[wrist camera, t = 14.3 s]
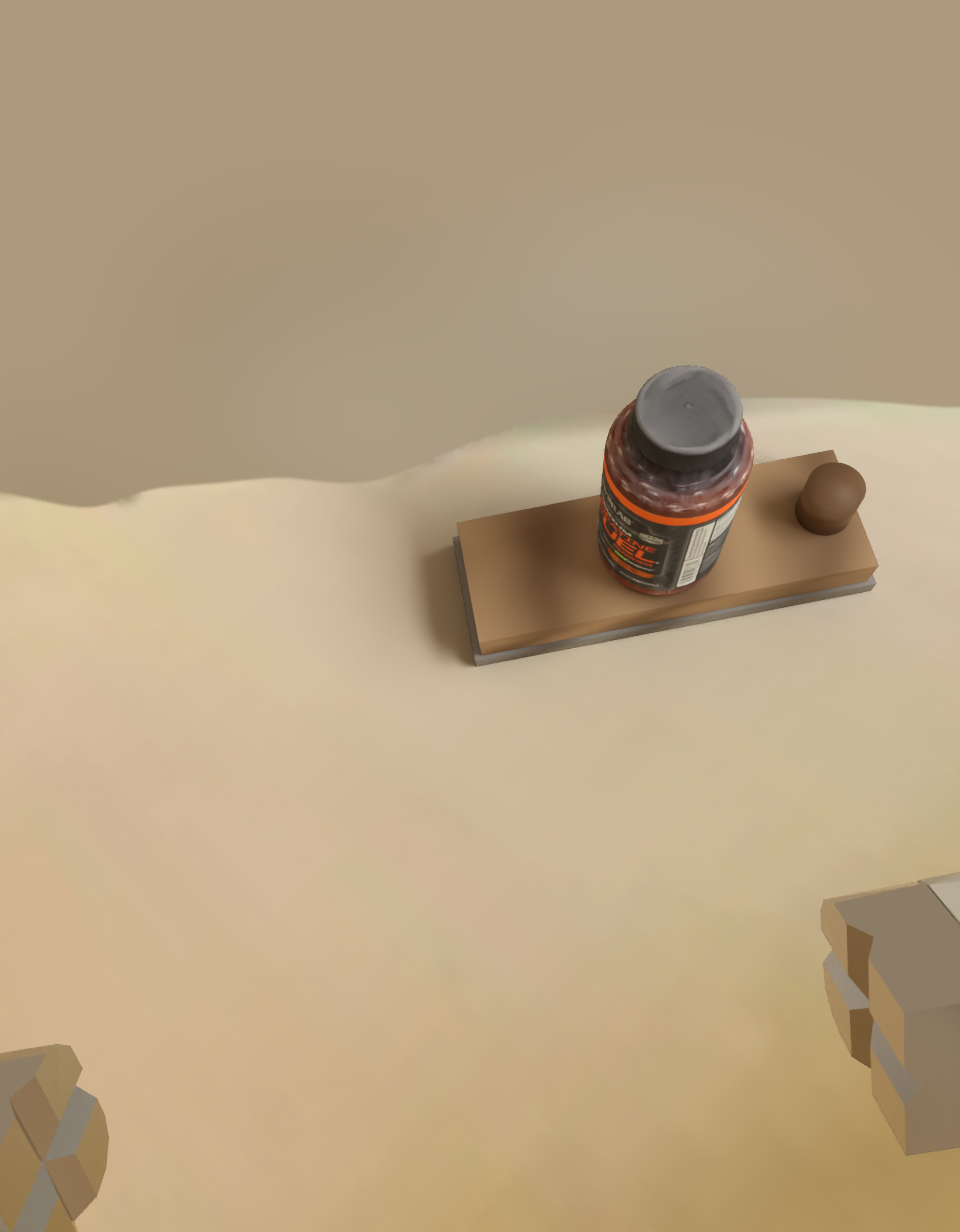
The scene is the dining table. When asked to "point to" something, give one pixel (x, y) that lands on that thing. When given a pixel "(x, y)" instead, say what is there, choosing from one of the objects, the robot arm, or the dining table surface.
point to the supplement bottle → (673, 480)
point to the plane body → (608, 610)
